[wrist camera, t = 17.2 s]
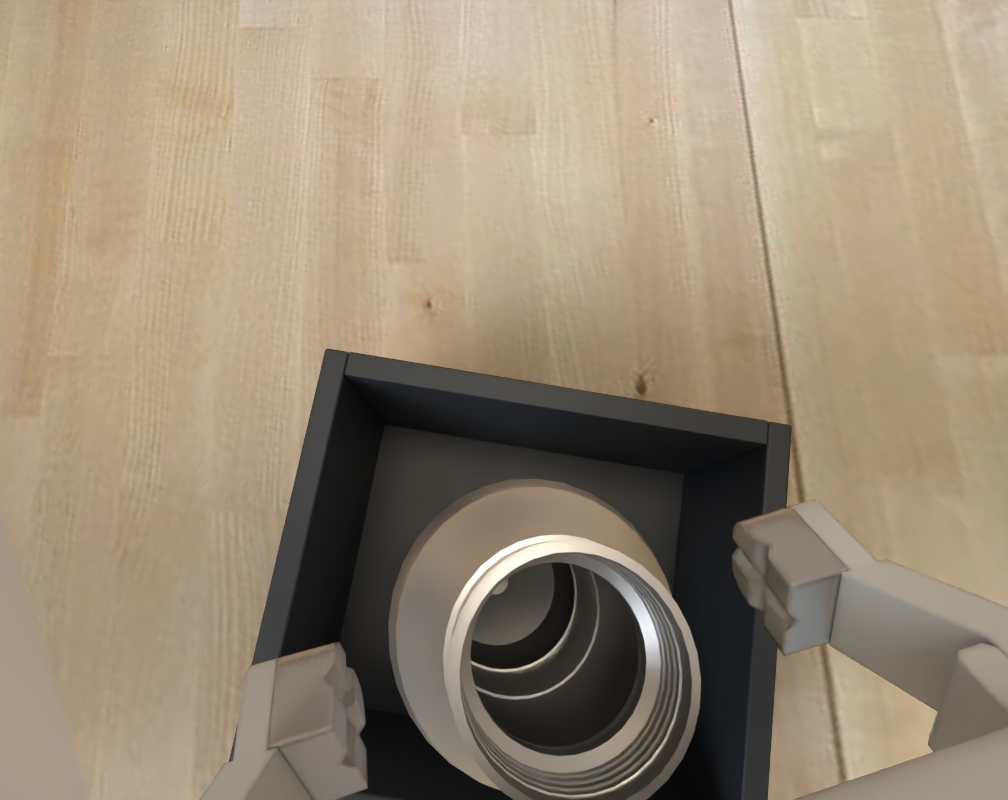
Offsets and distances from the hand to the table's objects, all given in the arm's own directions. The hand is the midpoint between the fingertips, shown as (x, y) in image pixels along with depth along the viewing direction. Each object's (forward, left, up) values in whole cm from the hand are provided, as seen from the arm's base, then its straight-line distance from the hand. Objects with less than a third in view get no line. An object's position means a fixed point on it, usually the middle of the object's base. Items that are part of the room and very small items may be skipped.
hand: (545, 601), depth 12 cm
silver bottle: (-1, -1, -18) cm, 18 cm away
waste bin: (0, -1, -18) cm, 18 cm away
